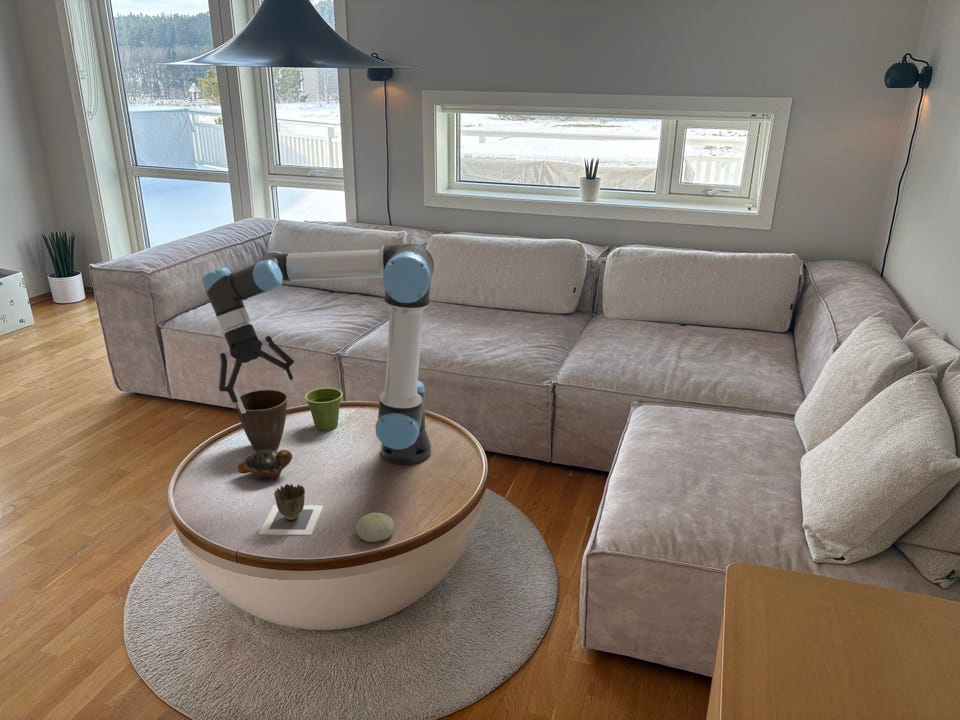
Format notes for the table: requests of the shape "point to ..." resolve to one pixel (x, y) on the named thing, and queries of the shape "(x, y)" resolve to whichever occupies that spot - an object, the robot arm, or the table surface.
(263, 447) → the plant pot
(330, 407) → the plant pot
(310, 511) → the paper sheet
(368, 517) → the sea urchin shell
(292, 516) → the cup
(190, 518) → the table surface
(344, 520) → the table surface
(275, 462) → the decorative turtle
